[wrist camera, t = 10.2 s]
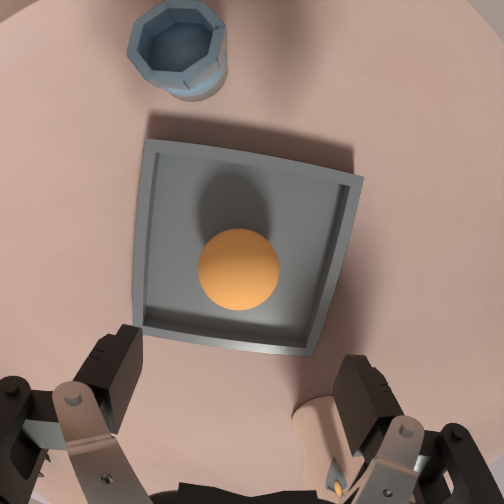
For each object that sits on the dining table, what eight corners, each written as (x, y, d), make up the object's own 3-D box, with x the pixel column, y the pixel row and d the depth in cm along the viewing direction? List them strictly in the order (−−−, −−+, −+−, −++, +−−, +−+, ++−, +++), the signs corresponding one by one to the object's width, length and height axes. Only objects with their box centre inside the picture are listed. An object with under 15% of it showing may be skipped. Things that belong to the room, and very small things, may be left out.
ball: (281, 226, 21) (293, 251, 16) (267, 293, 23) (273, 331, 18) (207, 214, 21) (197, 235, 16) (198, 282, 22) (188, 318, 18)
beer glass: (279, 404, 27) (301, 545, 13) (349, 383, 27) (402, 515, 13) (295, 441, 30) (316, 559, 16) (356, 423, 29) (396, 535, 15)
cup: (233, 46, 17) (231, 3, 11) (221, 105, 19) (212, 86, 12) (169, 40, 17) (141, 0, 10) (157, 98, 18) (120, 79, 12)
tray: (354, 174, 21) (364, 177, 19) (308, 343, 25) (312, 356, 23) (152, 138, 19) (145, 138, 18) (138, 320, 24) (132, 332, 22)
